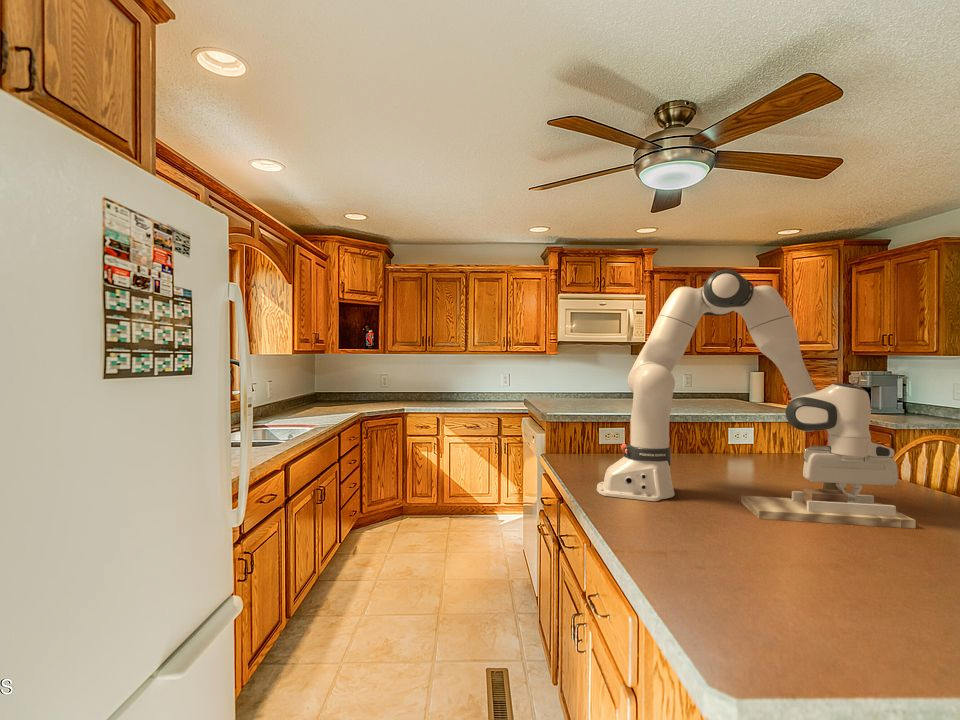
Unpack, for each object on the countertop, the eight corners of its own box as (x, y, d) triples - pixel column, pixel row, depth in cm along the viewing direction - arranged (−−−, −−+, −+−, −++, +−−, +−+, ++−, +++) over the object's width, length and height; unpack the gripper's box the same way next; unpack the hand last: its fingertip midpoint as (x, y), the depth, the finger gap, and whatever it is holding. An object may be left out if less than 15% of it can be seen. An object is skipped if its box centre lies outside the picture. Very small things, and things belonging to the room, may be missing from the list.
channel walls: (808, 511, 122) (808, 501, 122) (791, 500, 132) (791, 491, 132) (895, 516, 118) (895, 506, 118) (871, 504, 128) (871, 495, 128)
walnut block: (811, 508, 124) (812, 493, 124) (803, 503, 129) (803, 488, 129) (847, 511, 122) (847, 495, 122) (837, 505, 127) (837, 490, 127)
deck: (759, 518, 122) (759, 510, 122) (741, 502, 136) (741, 495, 136) (915, 528, 115) (915, 520, 115) (880, 510, 129) (880, 503, 129)
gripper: (809, 447, 124) (809, 501, 124) (902, 450, 119) (902, 506, 119) (798, 443, 130) (798, 494, 130) (886, 446, 126) (886, 499, 125)
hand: (848, 500), depth 124 cm, fingers closed
